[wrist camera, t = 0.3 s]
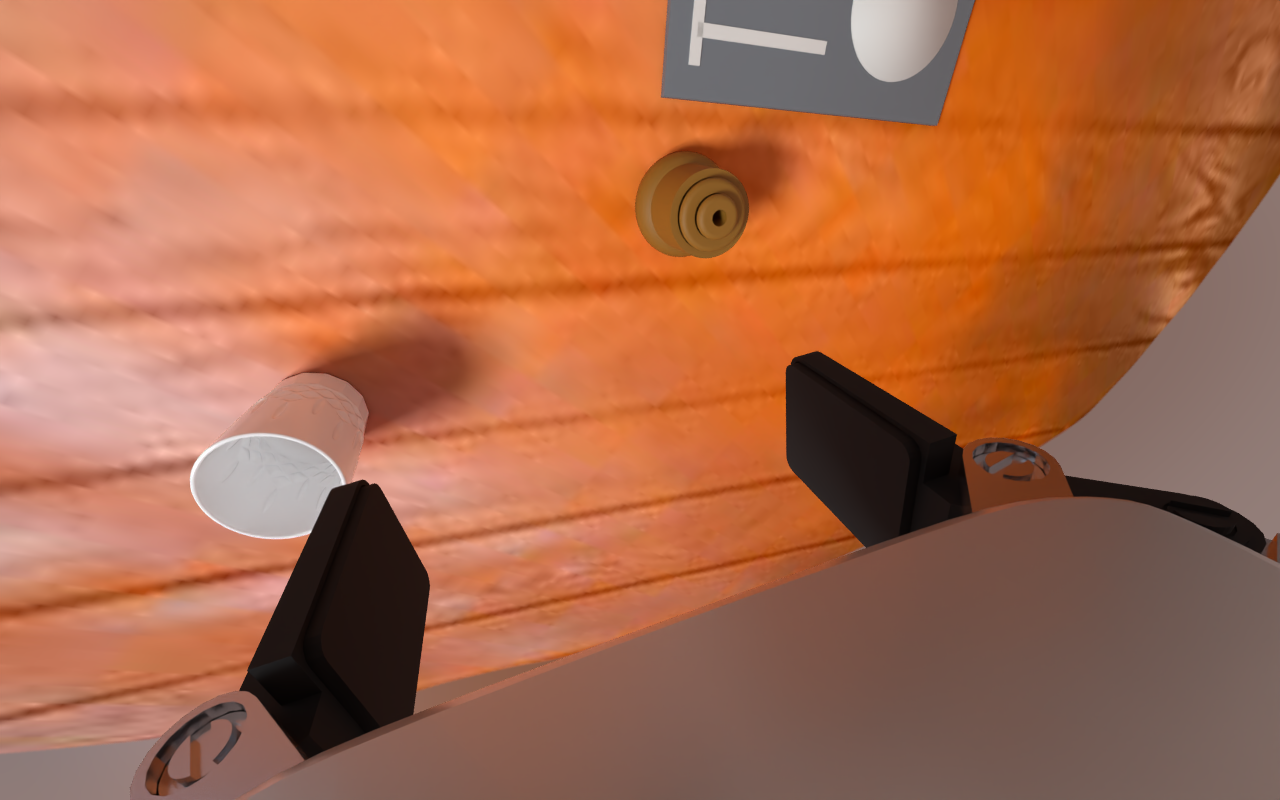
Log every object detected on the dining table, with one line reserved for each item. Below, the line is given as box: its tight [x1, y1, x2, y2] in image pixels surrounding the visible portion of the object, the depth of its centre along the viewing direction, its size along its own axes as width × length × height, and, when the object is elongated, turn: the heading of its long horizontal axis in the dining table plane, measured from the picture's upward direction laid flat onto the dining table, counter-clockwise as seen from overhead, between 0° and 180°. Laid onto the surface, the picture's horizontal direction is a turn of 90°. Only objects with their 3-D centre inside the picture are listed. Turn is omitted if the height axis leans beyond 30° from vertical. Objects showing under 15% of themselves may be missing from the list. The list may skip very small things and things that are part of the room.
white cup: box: [190, 373, 369, 539], centre depth 33 cm, size 8×8×10 cm
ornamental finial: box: [635, 151, 749, 258], centre depth 34 cm, size 8×8×8 cm
